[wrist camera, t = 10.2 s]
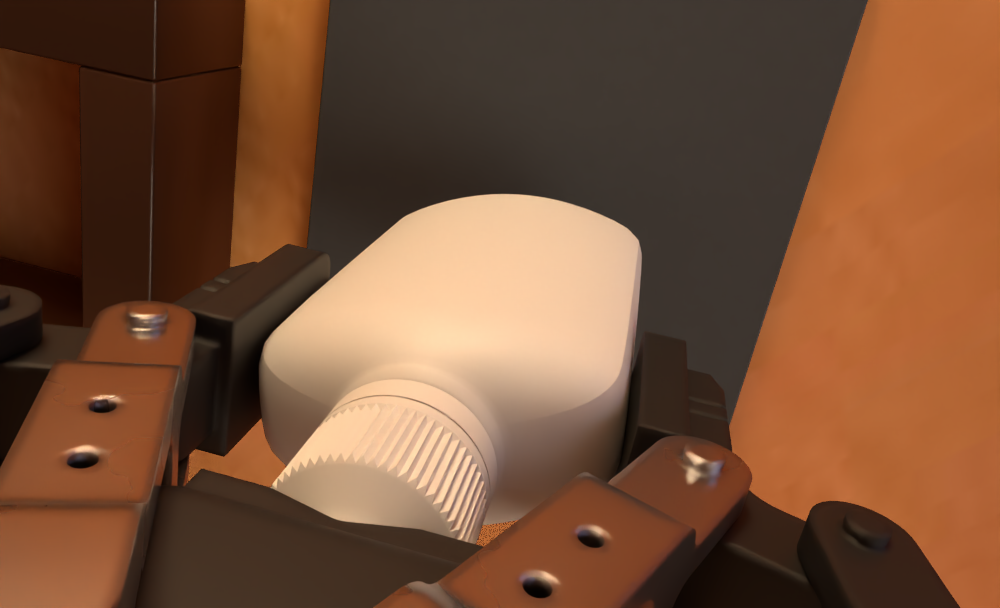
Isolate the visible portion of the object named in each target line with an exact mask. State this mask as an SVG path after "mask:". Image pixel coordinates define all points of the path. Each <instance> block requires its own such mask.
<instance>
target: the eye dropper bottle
mask: <svg viewBox="0 0 1000 608" xmlns="http://www.w3.org/2000/svg"><path fill="white" fill-rule="evenodd" d="M641 264H642V253H641V248H640V244H639V240H638V239H637V238H636V237H635V236H634V235H633V234H632V232H631V231H630V230H629V229H627V228H626V227H624V226H623V225H621V224H619V223H617V222H616V221H614V220H612V219H609V218H607V217H605V216H603V215H601V214H598V213H596V212H593V211H591V210H588V209H585V208H582V207H579V206H576V205H573V204H570V203H566V202H562V201H559V200H554V199H549V198H544V197H538V196H531V195H519V194H489V195H478V196H471V197H464V198H459V199H454V200H449V201H445V202H442V203H438V204H435V205H431V206H429V207H426V208H423V209H420V210H418V211H415V212H413V213H411V214H409V215H407V216H405V217H403V218H402V219H401V220H399V221H398V222H397V223H396V224H395V225H393V226H392V227H391V228H390V229H389V230H388V231H386V232H385V233H384V234H383V235H382V236H381V237H379V238H378V239H377V240H376V241H375V242H373V243H372V244H371V245H370V246H369V247H368V248H366V249H365V250H364V251H363V252H362V253H360V254H359V255H358V256H357V257H356V258H355V259H353V260H352V261H351V262H350V263H349V264H348V265H346V266H345V267H344V268H343V269H342V270H341V271H340V272H338V273H337V274H336V275H335V276H334V277H333V278H331V279H330V280H329V281H328V282H327V283H326V284H325V285H323V286H322V287H321V288H320V289H319V290H318V291H316V292H315V293H314V294H313V295H312V296H311V297H310V298H308V299H307V300H306V301H305V302H304V303H303V304H302V305H301V306H300V307H299V308H298V309H297V310H296V311H295V312H293V313H292V314H291V315H290V316H289V317H288V318H287V319H286V320H285V321H284V322H283V323H282V324H281V325H280V326H279V327H277V328H276V329H275V330H274V331H273V332H272V333H271V335H270V336H269V338H268V339H267V340H266V342H265V343H264V347H263V350H262V354H261V358H260V361H259V394H260V406H261V415H262V422H263V427H264V432H265V437H266V439H267V441H268V443H269V445H270V448H271V450H272V451H273V453H274V454H275V455H276V456H277V457H278V458H279V459H280V460H281V461H282V462H283V463H284V464H285V465H286V466H287V467H286V468H285V469H284V470H283V472H282V473H281V474H280V475H279V477H278V478H277V479H276V480H275V481H274V483H273V484H272V487H271V488H273V489H275V490H277V491H279V492H281V493H283V494H285V495H287V496H289V497H291V498H293V499H295V500H297V501H299V502H301V503H303V504H305V505H307V506H309V507H311V508H313V509H315V510H317V511H319V512H321V513H323V514H325V515H327V516H329V517H331V518H334V519H337V520H340V521H346V522H355V523H365V524H375V525H385V526H394V527H404V528H414V529H422V530H425V531H429V532H433V533H436V534H440V535H443V536H447V537H451V538H454V539H458V540H462V541H465V542H469V543H472V544H476V542H477V539H478V537H479V534H480V531H481V528H482V525H489V524H497V523H505V522H510V521H515V520H520V519H521V518H522V517H524V516H525V515H526V514H527V513H529V512H530V511H531V510H533V509H534V508H535V507H537V506H538V505H539V504H541V503H542V502H543V501H544V500H546V499H547V498H548V497H550V496H551V495H552V494H554V493H555V492H556V491H558V490H559V489H560V488H562V487H563V486H564V485H565V484H567V483H568V482H569V481H571V480H572V479H573V478H575V477H576V476H577V475H579V474H580V473H583V472H588V473H590V474H592V475H594V476H595V477H597V478H599V479H601V480H603V481H605V482H607V483H608V482H609V481H610V480H611V479H612V478H613V476H614V474H615V472H616V470H617V468H618V466H619V462H620V459H621V455H622V448H623V441H624V434H625V427H626V419H627V412H628V403H629V394H630V384H631V375H632V365H633V356H634V346H635V336H636V325H637V315H638V305H639V293H640V280H641Z"/></svg>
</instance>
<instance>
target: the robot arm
mask: <svg viewBox="0 0 1000 608" xmlns="http://www.w3.org/2000/svg"><path fill="white" fill-rule="evenodd" d="M329 277H330V258H329V255H328V254H327V253H324V252H320V251H315V250H311V249H307V248H303V247H299V246H295V245H291V244H287V245H285V246H283V247H282V248H280V249H279V250H277V251H276V252H274V253H273V254H271V255H270V256H268V257H267V258H265V259H264V260H262V261H261V262H259V263H257V262H251V263H247V264H243V265H239V266H235V267H231V268H228V269H227V270H225V271H224V272H222V273H220V274H219V275H217V276H216V277H214V279H213V280H209V281H208V282H206V283H204V284H203V285H201V287H200V288H197V289H195V290H193V291H192V292H190V293H189V294H187V295H185V296H184V297H182V298H181V299H179V300H177V301H176V302H174V303H173V304H171V303H166V302H159V301H130V302H124V303H119V304H115V305H112V306H110V307H107V308H105V309H103V310H102V311H101V312H99V313H98V315H97V316H96V318H95V320H94V322H93V325H92V327H91V328H84V327H73V326H62V325H51V324H43V318H42V300H41V298H40V297H39V296H38V295H37V294H35V293H33V292H31V291H29V290H26V289H23V288H19V287H14V286H6V285H0V608H960V607H959V605H958V604H957V602H956V601H955V600H954V598H953V597H952V595H951V594H950V592H949V591H948V589H947V588H946V586H945V585H944V583H943V582H942V580H941V579H940V577H939V576H938V574H937V573H936V571H935V570H934V568H933V567H932V566H931V564H930V563H929V561H928V560H927V558H926V557H925V555H924V554H923V552H922V551H921V549H920V548H919V546H918V545H917V543H916V542H915V541H914V540H913V538H912V537H911V536H910V535H909V534H908V533H907V532H906V531H905V530H903V529H902V528H901V527H900V526H899V525H897V524H896V523H894V522H893V521H891V520H890V519H888V518H886V517H884V516H883V515H881V514H879V513H877V512H875V511H872V510H870V509H867V508H865V507H862V506H859V505H855V504H851V503H847V502H840V501H826V502H821V503H818V504H816V505H815V506H813V507H812V509H811V510H810V513H809V515H808V518H807V520H806V521H803V520H801V519H799V518H797V517H795V516H792V515H790V514H788V513H786V512H783V511H781V510H779V509H777V508H775V507H773V506H771V505H769V504H768V503H766V502H764V501H763V500H761V499H760V498H758V497H757V496H755V495H754V494H753V493H752V492H751V491H749V488H750V485H751V482H752V474H751V471H750V469H749V467H748V466H747V465H746V463H745V462H744V461H743V460H742V459H741V458H739V457H738V456H737V455H736V454H734V453H733V452H732V446H731V439H730V431H729V424H728V422H727V420H728V416H727V409H726V402H725V394H724V390H723V389H722V388H721V387H720V386H719V384H718V383H717V382H716V381H715V380H714V378H713V377H712V376H711V375H710V374H706V373H702V372H698V371H694V370H690V369H687V349H686V341H685V340H681V339H677V338H672V337H668V336H664V335H660V334H656V333H652V332H648V331H645V332H644V334H643V337H642V340H641V343H640V347H639V350H638V354H637V358H636V361H635V365H634V369H633V372H632V376H631V384H630V394H629V403H628V412H627V419H626V427H625V434H624V441H623V448H622V455H621V459H620V462H619V466H618V468H617V470H616V472H615V474H614V476H613V478H612V479H611V480H610V481H609V482H608V483H607V482H605V481H603V480H601V479H599V478H597V477H595V476H594V475H592V474H590V473H588V472H583V473H580V474H579V475H577V476H576V477H575V478H573V479H572V480H571V481H569V482H568V483H567V484H565V485H564V486H563V487H562V488H560V489H559V490H558V491H556V492H555V493H554V494H552V495H551V496H550V497H548V498H547V499H546V500H544V501H543V502H542V503H541V504H539V505H538V506H537V507H535V508H534V509H533V510H531V511H530V512H529V513H527V514H526V515H525V516H524V517H522V518H521V519H520V520H518V521H517V522H516V523H514V524H513V525H512V526H510V527H509V528H508V529H506V530H505V531H504V532H503V533H501V534H500V535H499V536H497V537H496V538H495V539H493V540H492V541H491V542H489V543H488V544H487V545H486V546H484V547H483V546H480V545H476V544H472V543H469V542H465V541H462V540H458V539H454V538H451V537H447V536H443V535H440V534H436V533H433V532H429V531H425V530H422V529H414V528H404V527H394V526H385V525H375V524H365V523H355V522H346V521H340V520H337V519H334V518H331V517H329V516H327V515H325V514H323V513H321V512H319V511H317V510H315V509H313V508H311V507H309V506H307V505H305V504H303V503H301V502H299V501H297V500H295V499H293V498H291V497H289V496H287V495H285V494H283V493H281V492H279V491H277V490H275V489H273V488H270V487H266V486H263V485H259V484H255V483H252V482H248V481H244V480H241V479H237V478H234V477H230V476H226V475H223V474H219V473H216V472H212V471H208V470H205V469H201V470H200V471H199V472H198V473H197V474H196V475H195V476H194V477H193V478H192V479H191V480H190V481H189V482H188V483H187V481H188V475H189V456H190V453H191V452H192V451H193V450H194V449H198V450H201V451H205V452H209V453H212V454H216V455H220V456H223V457H224V456H225V455H226V454H227V453H228V452H229V451H230V450H231V449H232V448H233V447H234V446H235V445H236V444H237V443H238V442H239V441H240V440H241V439H242V438H243V437H244V436H245V434H246V433H247V432H248V431H249V430H250V429H251V428H252V427H253V426H254V425H255V424H256V423H257V422H258V421H259V420H260V419H261V418H262V415H261V406H260V394H259V361H260V358H261V354H262V350H263V347H264V343H265V342H266V340H267V339H268V338H269V336H270V335H271V333H272V332H273V331H274V330H275V329H276V328H277V327H279V326H280V325H281V324H282V323H283V322H284V321H285V320H286V319H287V318H288V317H289V316H290V315H291V314H292V313H293V312H295V311H296V310H297V309H298V308H299V307H300V306H301V305H302V304H303V303H304V302H305V301H306V300H307V299H308V298H310V297H311V296H312V295H313V294H314V293H315V292H316V291H318V290H319V289H320V288H321V287H322V286H323V285H325V284H326V283H327V282H328V281H329Z"/></svg>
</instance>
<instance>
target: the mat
mask: <svg viewBox="0 0 1000 608" xmlns="http://www.w3.org/2000/svg"><path fill="white" fill-rule="evenodd" d="M867 1H868V0H330V8H329V19H328V29H327V40H326V50H325V61H324V72H323V82H322V93H321V103H320V114H319V125H318V135H317V146H316V157H315V167H314V178H313V188H312V199H311V210H310V220H309V231H308V241H307V249H311V250H315V251H320V252H324V253H327V254H328V255H329V258H330V277H329V280H330V279H331V278H333V277H334V276H335V275H336V274H337V273H338V272H340V271H341V270H342V269H343V268H344V267H345V266H346V265H348V264H349V263H350V262H351V261H352V260H353V259H355V258H356V257H357V256H358V255H359V254H360V253H362V252H363V251H364V250H365V249H366V248H368V247H369V246H370V245H371V244H372V243H373V242H375V241H376V240H377V239H378V238H379V237H381V236H382V235H383V234H384V233H385V232H386V231H388V230H389V229H390V228H391V227H392V226H393V225H395V224H396V223H397V222H398V221H399V220H401V219H402V218H403V217H405V216H407V215H409V214H411V213H413V212H415V211H418V210H420V209H423V208H426V207H429V206H431V205H435V204H438V203H442V202H445V201H449V200H454V199H459V198H464V197H471V196H478V195H489V194H519V195H531V196H538V197H544V198H549V199H554V200H559V201H562V202H566V203H570V204H573V205H576V206H579V207H582V208H585V209H588V210H591V211H593V212H596V213H598V214H601V215H603V216H605V217H607V218H609V219H612V220H614V221H616V222H617V223H619V224H621V225H623V226H624V227H626V228H627V229H629V230H630V231H631V232H632V234H633V235H634V236H635V237H636V238H637V239H638V240H639V244H640V248H641V253H642V264H641V280H640V293H639V305H638V315H637V325H636V336H635V346H634V356H633V365H632V372H633V369H634V365H635V361H636V358H637V354H638V350H639V347H640V343H641V340H642V337H643V334H644V332H645V331H648V332H652V333H656V334H660V335H664V336H668V337H672V338H677V339H681V340H685V341H686V349H687V369H690V370H694V371H698V372H702V373H706V374H710V375H711V376H712V377H713V378H714V380H715V381H716V382H717V383H718V384H719V386H720V387H721V388H722V389H723V390H724V394H725V402H726V409H727V416H728V420H727V422H728V424H729V425H730V422H731V419H732V416H733V413H734V410H735V407H736V403H737V400H738V397H739V394H740V391H741V388H742V385H743V382H744V379H745V376H746V373H747V370H748V367H749V364H750V361H751V357H752V354H753V351H754V348H755V345H756V342H757V339H758V336H759V333H760V330H761V327H762V324H763V321H764V318H765V314H766V311H767V308H768V305H769V302H770V299H771V296H772V293H773V290H774V287H775V284H776V281H777V278H778V275H779V271H780V268H781V265H782V262H783V259H784V256H785V253H786V250H787V247H788V244H789V241H790V238H791V235H792V232H793V228H794V225H795V222H796V219H797V216H798V213H799V210H800V207H801V204H802V201H803V198H804V195H805V192H806V189H807V185H808V182H809V179H810V176H811V173H812V170H813V167H814V164H815V161H816V158H817V155H818V152H819V149H820V146H821V142H822V139H823V136H824V133H825V130H826V127H827V124H828V121H829V118H830V115H831V112H832V109H833V106H834V103H835V99H836V96H837V93H838V90H839V87H840V84H841V81H842V78H843V75H844V72H845V69H846V66H847V63H848V60H849V56H850V53H851V50H852V47H853V44H854V41H855V38H856V35H857V32H858V29H859V26H860V23H861V20H862V17H863V14H864V10H865V7H866V4H867ZM631 376H632V375H631Z"/></svg>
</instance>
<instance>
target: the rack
mask: <svg viewBox="0 0 1000 608" xmlns="http://www.w3.org/2000/svg"><path fill="white" fill-rule="evenodd" d="M244 14H245V0H0V48H4V49H8V50H13V51H17V52H22V53H26V54H31V55H36V56H40V57H45V58H49V59H54V60H58V61H63V62H67V63H72V64H77V65H81V67H80V69H79V90H80V161H81V231H82V278H80V277H76V276H72V275H68V274H64V273H60V272H56V271H52V270H48V269H44V268H40V267H36V266H32V265H28V264H24V263H20V262H16V261H12V260H8V259H4V258H0V285H6V286H14V287H19V288H23V289H26V290H29V291H31V292H33V293H35V294H37V295H38V296H39V297H40V298H41V300H42V318H43V324H51V325H62V326H73V327H84V328H91V327H92V325H93V322H94V320H95V318H96V316H97V315H98V313H99V312H101V311H102V310H103V309H105V308H107V307H110V306H112V305H115V304H119V303H124V302H130V301H159V302H166V303H171V304H173V303H174V302H176V301H177V300H179V299H181V298H182V297H184V296H185V295H187V294H189V293H190V292H192V291H193V290H195V289H197V288H200V287H201V285H203V284H204V283H206V282H208V281H209V280H213V279H214V277H216V276H217V275H219V274H220V273H222V272H224V271H225V270H227V269H228V268H230V254H231V237H232V220H233V202H234V185H235V167H236V150H237V133H238V115H239V98H240V81H241V68H240V67H238V66H241V64H242V49H243V31H244Z"/></svg>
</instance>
